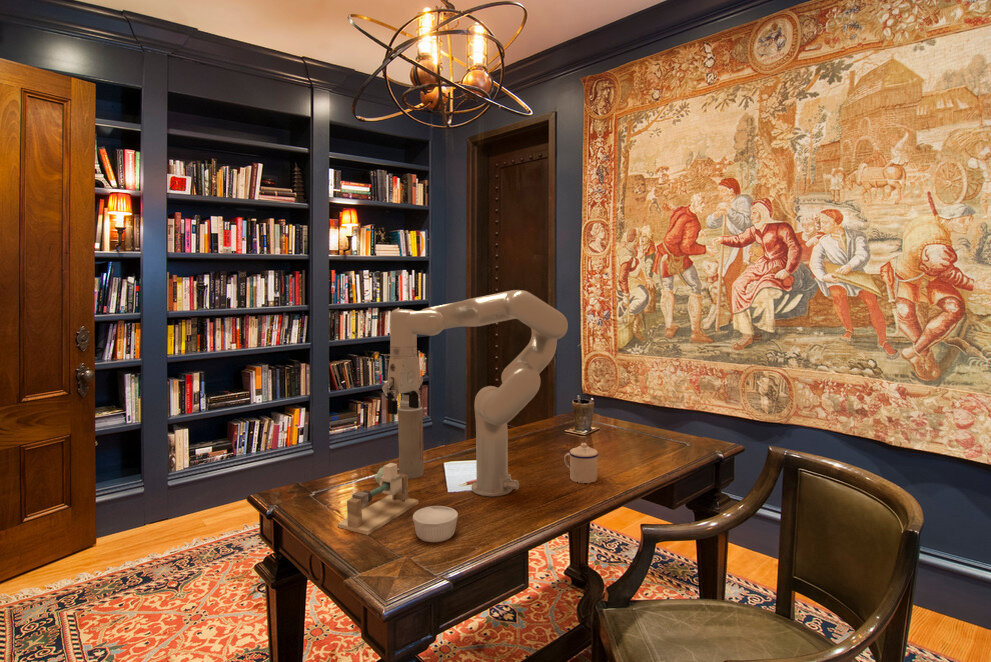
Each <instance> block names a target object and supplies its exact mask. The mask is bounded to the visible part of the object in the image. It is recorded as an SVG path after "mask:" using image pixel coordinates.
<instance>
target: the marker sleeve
mask: <svg viewBox="0 0 991 662" xmlns="http://www.w3.org/2000/svg"><path fill="white" fill-rule="evenodd" d="M383 467H384V475H383V476H381V477H380V485H379V486H381V485H383V484H385V483H387V482H390V488H388V489H386V490H385V491H383V492H381V493H380V494H385V495H395V494H397V493H398V492H400V491H402V475H398V474H399V473H398V472H397V471H398V464H397V463H393V462H390V463H387V464H385V465H383Z"/></svg>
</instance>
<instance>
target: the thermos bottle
mask: <svg viewBox="0 0 991 662" xmlns="http://www.w3.org/2000/svg"><path fill="white" fill-rule="evenodd" d="M401 394H402V400H400V401H399V407H398V413H397V423H398V424H397V429H398V430H397V431H398V434H397V435H398V468H399V469H398V471H399V472H398V474H404V475H408V480H410V479H411V480H412V479H417V478H420V477H422V476H423V475H424V473H425V471H424V422H423V421H424V419H423V414H424V411H423V407H422V406H421V400H420V399H419V407H418V408H411V407H409V394H411V393H410V392H407V393H401Z"/></svg>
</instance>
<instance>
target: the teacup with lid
mask: <svg viewBox="0 0 991 662" xmlns="http://www.w3.org/2000/svg"><path fill="white" fill-rule="evenodd" d="M598 456H599V453H598V450H597V449H595V448H592V447H590V446H588V444H587V443H586V442H581V444H580V445H579V446H576V447H574V448H573V447H572V448H571V449H570V450H569V452H568V453H565V455H564V457H563V459H564V464H565V466H566V467H567V468H568V469H569V478H570V480H571V481H572V482H574V483H577V482H578V484H584V483H587V484H592V483H591V482H593V483H595V482H596V481H598ZM568 457H569V459H568Z"/></svg>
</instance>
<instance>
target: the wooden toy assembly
mask: <svg viewBox="0 0 991 662" xmlns="http://www.w3.org/2000/svg"><path fill="white" fill-rule="evenodd" d="M397 474H398V475H402V491H400V492H398V493H397V494H395V495H389V494H387V496H384V497H382V498H380V499H379V500H377V501H376V502H374V503H372V504H370V505H369V503H371V502H372V499H373V497H376V495H378V494H382V493H381V492H383V491H385V490H386V489H388V488H390V482H387V483H385V484H383V485H381V486H380V485H379V486H378V487H376V488H374V489H372V490H370V491H369V490H367V489H366V490H363V491H356V492H354V493H353V494H351V498H348V499H347V500H346V507H347V508H346V509H347V517H346V518H344V519H343V520H342V521H339V522H338V523H337V525H336V527H337V528H338V527H339V529H342V528H343V530H346V529H347V530H346V531H351V532H353V533H354V532H355V533H358V534H361V535H362V534H363V535H366V536H368V535H370V534H372V533H373V532H375V531H377V530H378V529H380V528H381V527H383V526H384V525H386V524H388V523H389V522H391V521H393V520H394V519H396V518H398V517H400V516H401V515H402V514H404V513H406V512H407V511H409V510H411V509H412V508H414V507H415V506H417V505H419V499H415V498H411V497H409V479H408V475H404V474H399V473H397Z"/></svg>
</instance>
